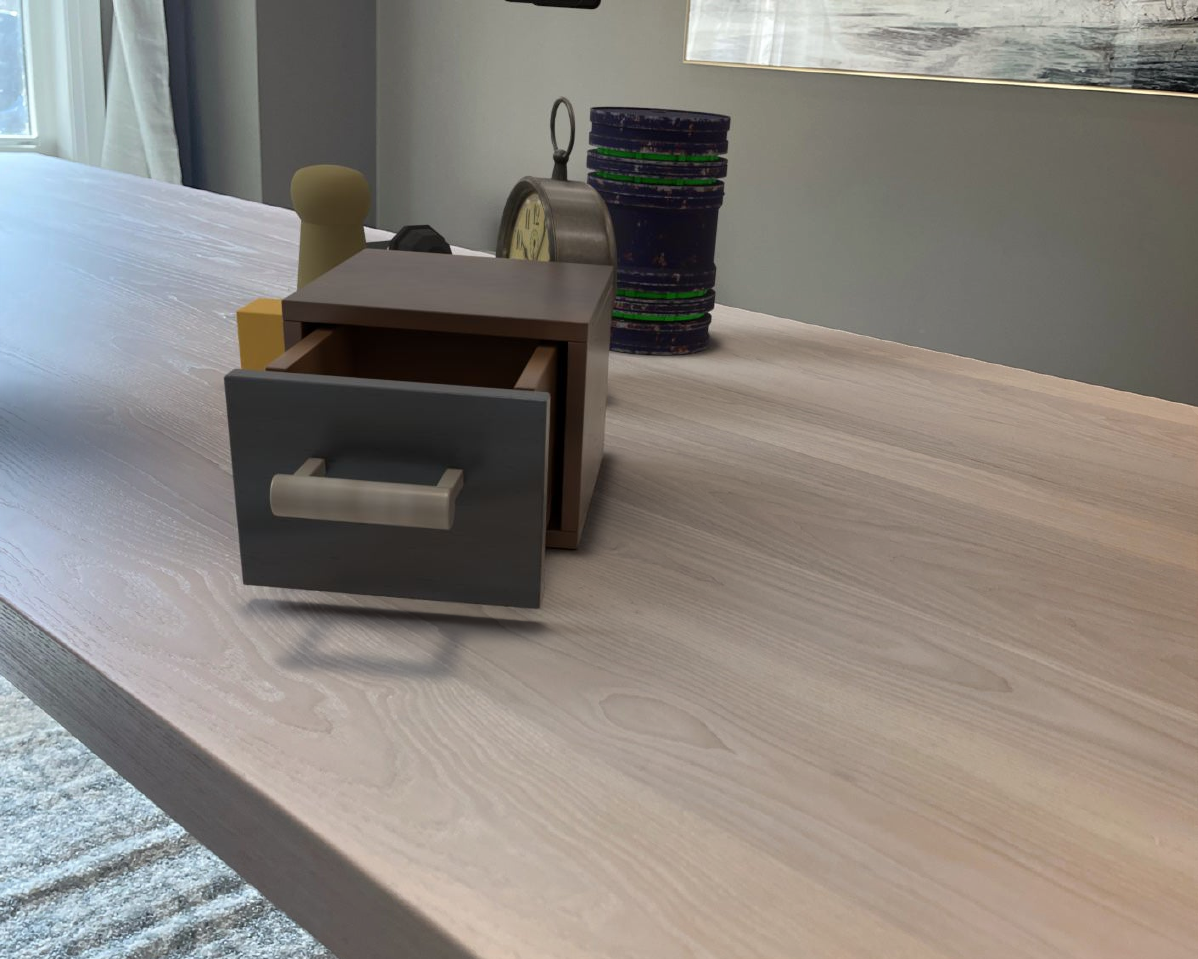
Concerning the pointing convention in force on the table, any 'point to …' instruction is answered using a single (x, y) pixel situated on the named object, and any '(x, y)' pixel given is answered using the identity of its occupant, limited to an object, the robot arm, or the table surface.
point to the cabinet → (487, 333)
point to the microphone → (414, 241)
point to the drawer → (399, 464)
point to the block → (260, 333)
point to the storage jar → (660, 221)
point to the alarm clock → (558, 216)
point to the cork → (329, 217)
